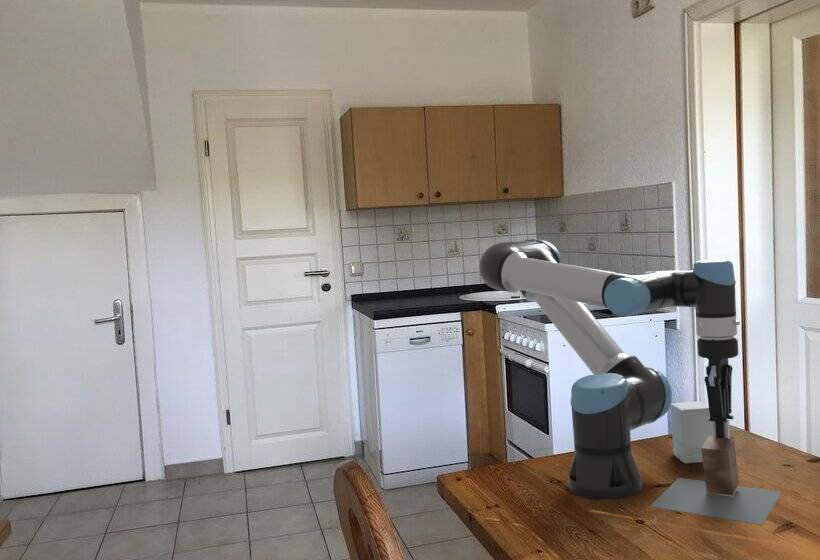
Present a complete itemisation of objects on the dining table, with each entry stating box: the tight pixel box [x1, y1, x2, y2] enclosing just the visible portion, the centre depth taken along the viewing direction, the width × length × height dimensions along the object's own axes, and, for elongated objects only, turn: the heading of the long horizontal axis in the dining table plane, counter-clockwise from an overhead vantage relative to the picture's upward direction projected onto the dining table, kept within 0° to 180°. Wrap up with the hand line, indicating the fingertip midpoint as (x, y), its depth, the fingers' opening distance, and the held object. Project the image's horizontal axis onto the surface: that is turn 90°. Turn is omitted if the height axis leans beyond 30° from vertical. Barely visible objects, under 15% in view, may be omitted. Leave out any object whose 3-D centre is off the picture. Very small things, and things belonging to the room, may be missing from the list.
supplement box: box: [670, 400, 714, 464], centre depth 166 cm, size 7×7×13 cm
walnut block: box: [701, 436, 740, 497], centre depth 144 cm, size 5×5×10 cm
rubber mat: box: [649, 477, 783, 526], centre depth 141 cm, size 20×18×1 cm
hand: (722, 451), depth 146 cm, fingers closed
